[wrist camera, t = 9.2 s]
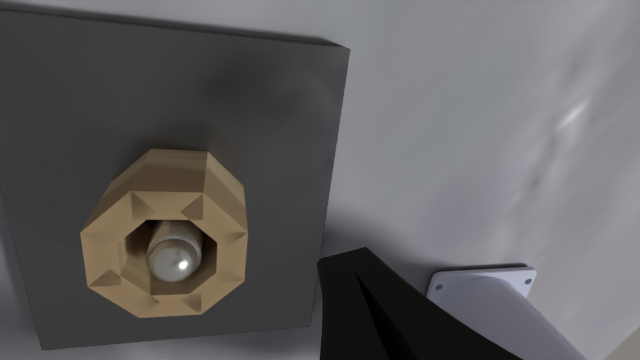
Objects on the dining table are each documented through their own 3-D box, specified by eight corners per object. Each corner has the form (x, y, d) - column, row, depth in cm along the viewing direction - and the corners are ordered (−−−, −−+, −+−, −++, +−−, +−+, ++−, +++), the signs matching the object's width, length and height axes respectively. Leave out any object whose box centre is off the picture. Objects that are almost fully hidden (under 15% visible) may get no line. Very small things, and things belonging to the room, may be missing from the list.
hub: (306, 314, 23) (327, 394, 19) (49, 334, 20) (-5, 440, 15) (343, 46, 17) (390, 65, 12) (-30, 5, 13) (-169, 9, 9)
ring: (265, 207, 18) (275, 257, 15) (181, 274, 19) (171, 337, 15) (179, 124, 16) (166, 160, 12) (84, 204, 16) (45, 261, 13)
